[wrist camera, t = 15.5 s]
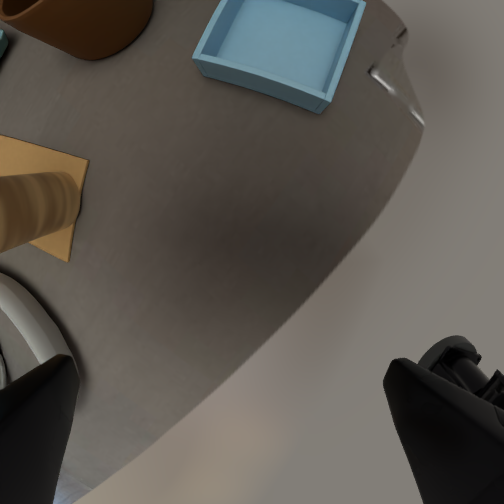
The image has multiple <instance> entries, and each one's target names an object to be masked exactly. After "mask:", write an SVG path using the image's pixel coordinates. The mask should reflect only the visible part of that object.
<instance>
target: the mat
mask: <svg viewBox="0 0 504 504" xmlns="http://www.w3.org/2000/svg"><path fill="white" fill-rule="evenodd" d="M88 164H89V160H86V159H83V158H80V157H76V156H73V155H70V154H66V153H63V152H60V151H56V150H53V149H50V148H46V147H43V146H39V145H36V144H32V143H29V142H25V141H22V140H18V139H14V138H11V137H7V136H3V135H0V176H9V175H19V174H30V173H43V172H58V171H61V172H65V173H67V174H69V175H70V176H71V177H72V178H73V179H74V181H75V182H76V184H77V186H78V189H79V193H80V197H81V192H82V188H83V184H84V180H85V176H86V172H87V168H88ZM75 222H76V219H75V221H74V222H73V224H72V225H70V226H69V227H68V228H65V229H63V230H60V231H57V232H54V233H51V234H49V235H46V236H43V237H40V238H38V239H35V240H32V241H30V242H28V243H30V244H32V245H34V246H36V247H38V248H40V249H41V250H43V251H45V252H47V253H49V254H51V255H53V256H55V257H57V258H59V259H61V260H63V261H65V262H67V263H68V262H69V261H70V253H71V246H72V240H73V233H74V227H75Z"/></svg>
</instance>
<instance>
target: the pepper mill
mask: <svg viewBox="0 0 504 504" xmlns="http://www.w3.org/2000/svg"><path fill="white" fill-rule="evenodd" d="M79 209H80V193H79V189H78V186H77V184H76V182H75V181H74V179H73V178H72V177H71V176H70V175H69V174H67V173H65V172H61V171H58V172H43V173H30V174H19V175H9V176H0V253H2V252H4V251H7V250H9V249H12V248H14V247H17V246H19V245H22V244H25V243H27V242H30V241H32V240H35V239H38V238H40V237H43V236H46V235H49V234H51V233H54V232H57V231H60V230H63V229H65V228H68V227H69V226H70V225H72V224H73V222H74V221H75V219H76V218H77V215H78V213H79Z"/></svg>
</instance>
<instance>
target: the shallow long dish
mask: <svg viewBox="0 0 504 504" xmlns="http://www.w3.org/2000/svg"><path fill="white" fill-rule="evenodd" d="M7 45H8V40H7V37H6V34H5V32H4V30H1V29H0V58H1V56H2V55H3V53H4V51H5V49H6V47H7Z"/></svg>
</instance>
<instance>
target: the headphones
mask: <svg viewBox="0 0 504 504" xmlns="http://www.w3.org/2000/svg"><path fill="white" fill-rule="evenodd" d="M0 308H1V309H2V310H3V311H4V312H5V313H6V315H7V316H8V317H9V318H10V320H11V321H12V322H13V324H14V325H15V326H16V328H17V329H18V330H19V331H20V333H21V334H22V335H23V337H24V338H25V340H26V342H27V343H28V345H29V347H30V348H31V350H32V352H33V353H34V355H35V356H36V358H37V360H38V361H39V363H40V365H41V364H42V363H44V362H45V361H47V360H49V359H50V358H52V357H53V356H55V355H57V354H65V355H70V356H71V357H72V358H73V355H72V353H71V351H70V350H69V348H68V346H67V344H66V342H65V340H64V338H63V336H62V334H61V332H60V330H59V328H58V327H57V325H56V324H55V323H54V322H53V321H52V319H51V318H50V317H49V316H48V314H47V313H46V311H45V310H44V309H43V307H42V306H41V305H40V304H39V303H38V301H37V300H36V299H35V298H34V297H33V296H32V295H31V294H30V293H29V292H28V291H27V290H26V289H25V288H24V287H23V286H22V285H20V284H19V283H18V282H16V281H15V280H14V279H12V278H11V277H9V276H7V275H4V274H2V273H0ZM73 360H74V358H73ZM74 363H75V360H74ZM75 366H76V369H77V372H78V368H77V365H76V363H75ZM78 374H79V373H78ZM4 387H6V370H5V365H4V361H3V358H2V356H1V354H0V390H1V389H3V388H4ZM79 388H80V387H79ZM78 396H79V391H78ZM78 396H77V400H78ZM76 402H77V401H76Z"/></svg>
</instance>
